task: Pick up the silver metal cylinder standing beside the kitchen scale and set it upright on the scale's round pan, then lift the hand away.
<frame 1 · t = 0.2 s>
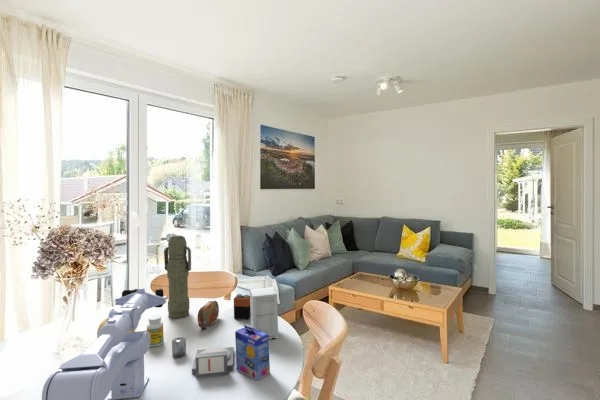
hand: (149, 291, 112), 21 cm above the table, tool horizontal, fingers open, 7 cm apart
ink cartridge box: (252, 372, 101), on the table
sculpture: (116, 344, 121), on the table
scale: (214, 361, 107), on the table
battery: (243, 318, 144), on the table
supplement bottle: (155, 344, 121), on the table
silver metal cylinder: (179, 354, 112), on the table
thermos: (178, 315, 148), on the table
white tall box: (264, 335, 127), on the table
tin: (208, 324, 138), on the table
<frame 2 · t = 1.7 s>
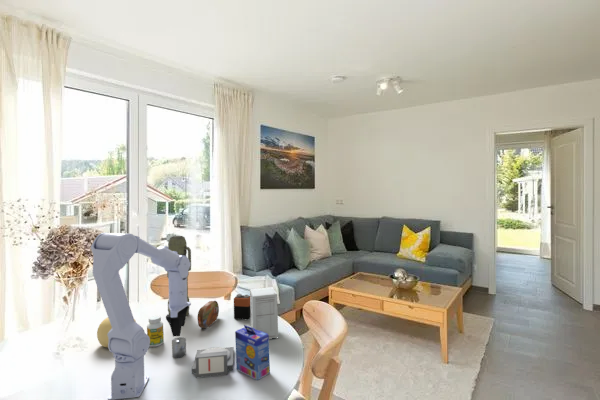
hand: (178, 330, 112), 8 cm above the table, tool pointing down, fingers open, 7 cm apart
nothing on the table moved.
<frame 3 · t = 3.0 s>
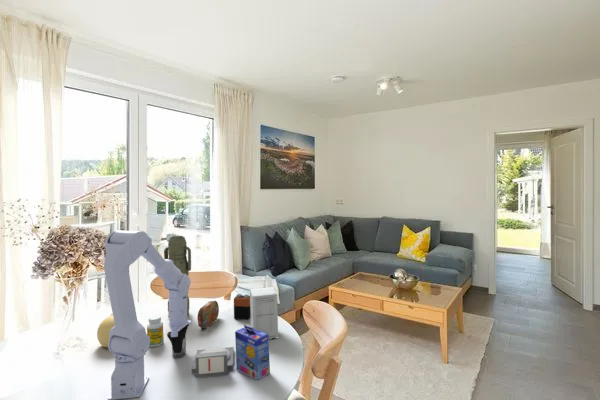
hand: (179, 349, 112), 2 cm above the table, tool pointing down, fingers closed on silver metal cylinder, 4 cm apart
silver metal cylinder: (179, 354, 112), on the table, touching gripper
everything else where it was.
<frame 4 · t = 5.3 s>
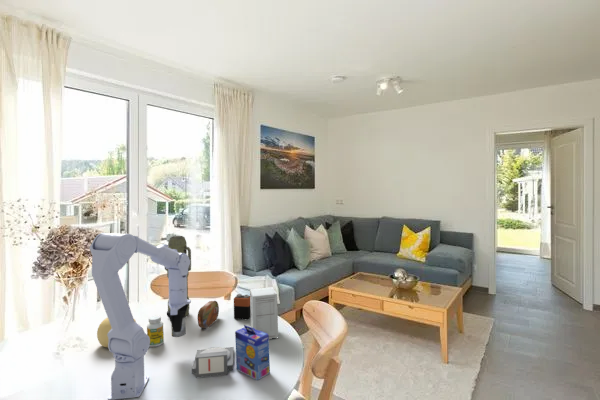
hand: (178, 328, 112), 9 cm above the table, tool pointing down, fingers closed on silver metal cylinder, 4 cm apart
silver metal cylinder: (178, 334, 112), point 7 cm above the table, touching gripper
everything else where it was.
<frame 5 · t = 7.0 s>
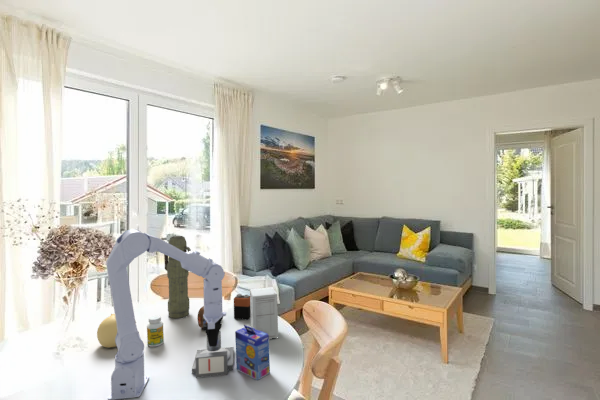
hand: (213, 342, 107), 6 cm above the table, tool pointing down, fingers closed on silver metal cylinder, 4 cm apart
silver metal cylinder: (214, 348, 107), point 4 cm above the table, touching gripper
everything else where it was.
when the fingers open (3 cm above the table, at t = 8.0 s): silver metal cylinder stays where it is, resting on scale.
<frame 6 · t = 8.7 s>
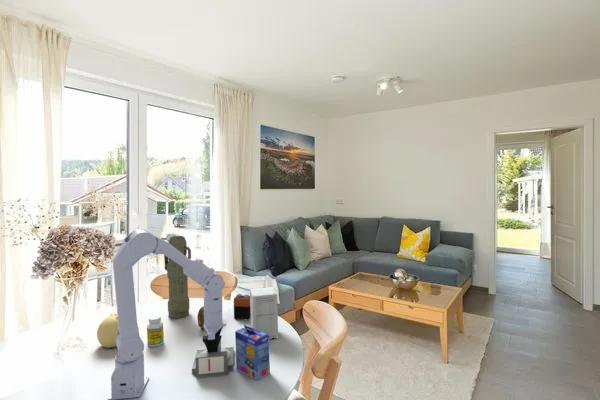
hand: (213, 352, 107), 3 cm above the table, tool pointing down, fingers open, 7 cm apart
silver metal cylinder: (214, 354, 107), point 2 cm above the table, touching scale
everything else where it was.
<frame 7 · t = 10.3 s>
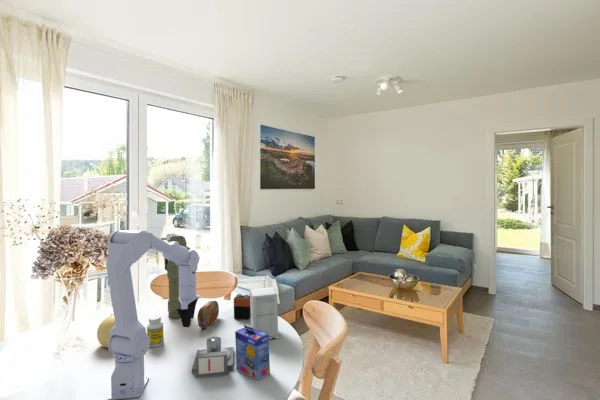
hand: (188, 322, 117), 9 cm above the table, tool pointing down, fingers open, 7 cm apart
nothing on the table moved.
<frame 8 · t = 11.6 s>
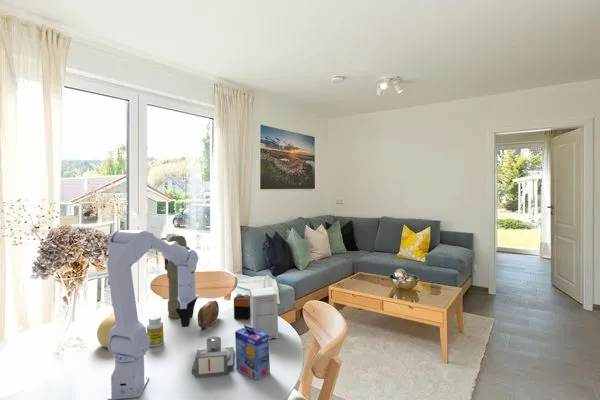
hand: (187, 322, 117), 9 cm above the table, tool pointing down, fingers open, 7 cm apart
nothing on the table moved.
at the end: silver metal cylinder inside the target area on the scale (0.0 cm from its centre), point 2.3 cm above the scale's base; silver metal cylinder tilted 0°; the gripper is holding nothing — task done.
